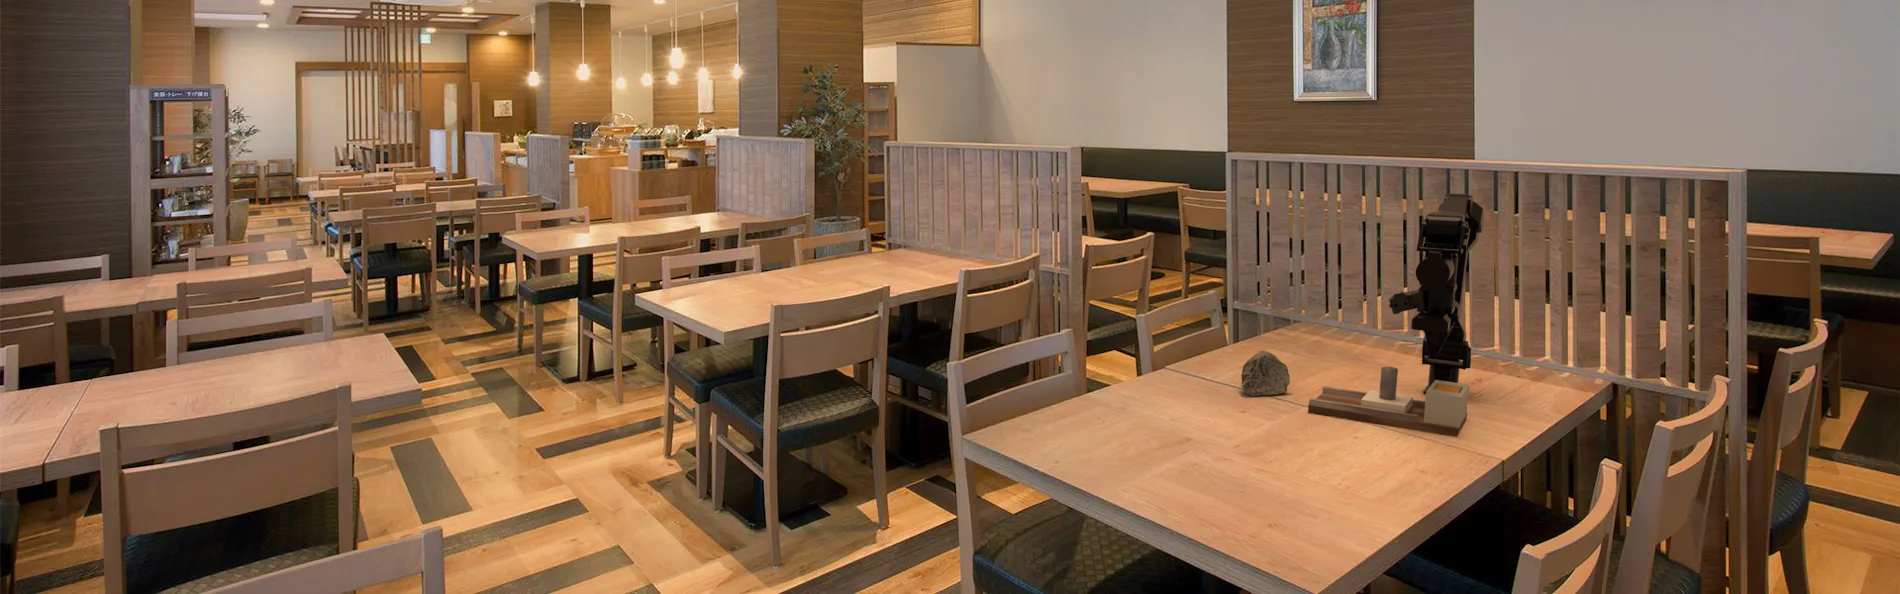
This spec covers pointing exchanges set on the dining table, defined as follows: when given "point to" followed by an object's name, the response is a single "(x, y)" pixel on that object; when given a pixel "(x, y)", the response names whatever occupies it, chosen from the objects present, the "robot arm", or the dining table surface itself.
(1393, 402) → the carriage
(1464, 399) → the button housing
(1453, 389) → the button
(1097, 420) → the dining table surface
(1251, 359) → the stone
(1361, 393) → the track
